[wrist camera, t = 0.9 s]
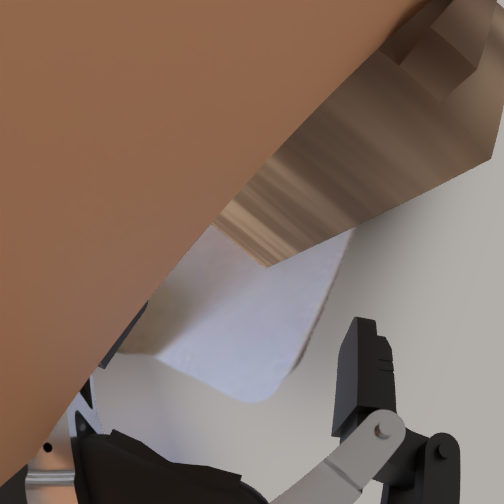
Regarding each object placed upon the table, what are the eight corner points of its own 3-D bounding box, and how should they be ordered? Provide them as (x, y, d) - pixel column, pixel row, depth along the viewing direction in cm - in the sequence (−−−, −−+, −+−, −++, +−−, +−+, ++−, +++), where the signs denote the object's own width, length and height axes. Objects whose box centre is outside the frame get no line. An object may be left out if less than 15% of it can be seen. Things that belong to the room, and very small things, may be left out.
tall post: (265, 268, 36) (532, 137, 3) (200, 214, 36) (130, -82, 3) (323, 194, 38) (524, 5, 5) (262, 146, 38) (345, -109, 5)
